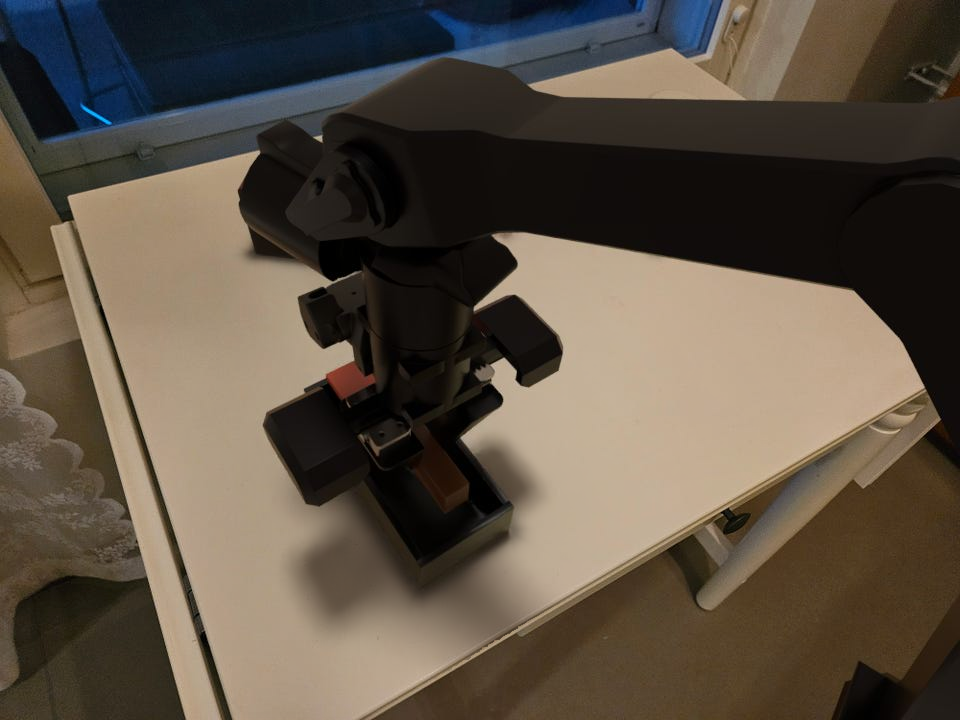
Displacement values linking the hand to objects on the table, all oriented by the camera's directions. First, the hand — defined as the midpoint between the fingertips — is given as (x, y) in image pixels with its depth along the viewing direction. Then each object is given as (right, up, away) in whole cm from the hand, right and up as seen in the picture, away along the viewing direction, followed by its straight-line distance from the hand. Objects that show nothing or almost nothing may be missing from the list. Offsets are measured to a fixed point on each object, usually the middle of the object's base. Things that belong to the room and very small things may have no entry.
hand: (424, 455), depth 46 cm
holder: (-2, -2, +7) cm, 8 cm away
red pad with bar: (-2, +1, +2) cm, 3 cm away
